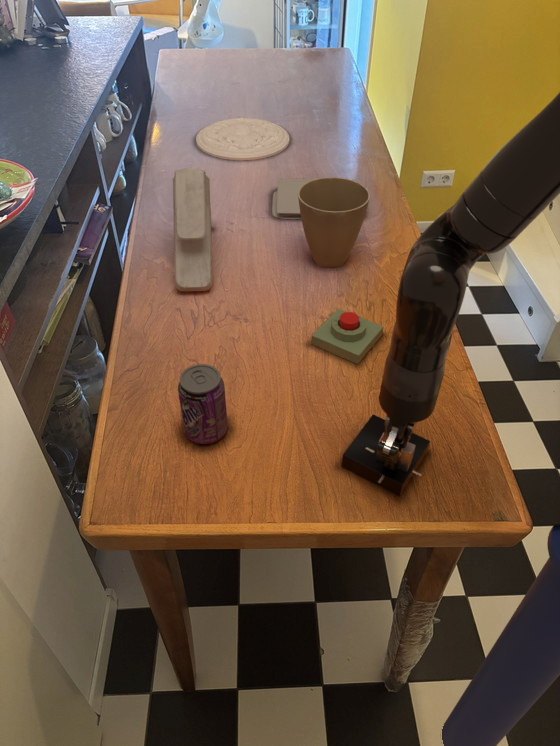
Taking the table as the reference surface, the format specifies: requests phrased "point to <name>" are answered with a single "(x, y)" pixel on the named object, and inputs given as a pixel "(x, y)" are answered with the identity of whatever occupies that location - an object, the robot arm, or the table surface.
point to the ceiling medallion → (242, 139)
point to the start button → (349, 321)
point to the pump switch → (347, 337)
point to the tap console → (365, 464)
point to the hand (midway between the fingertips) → (393, 460)
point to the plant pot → (332, 217)
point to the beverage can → (203, 403)
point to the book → (288, 198)
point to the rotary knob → (405, 458)
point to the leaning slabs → (192, 230)
